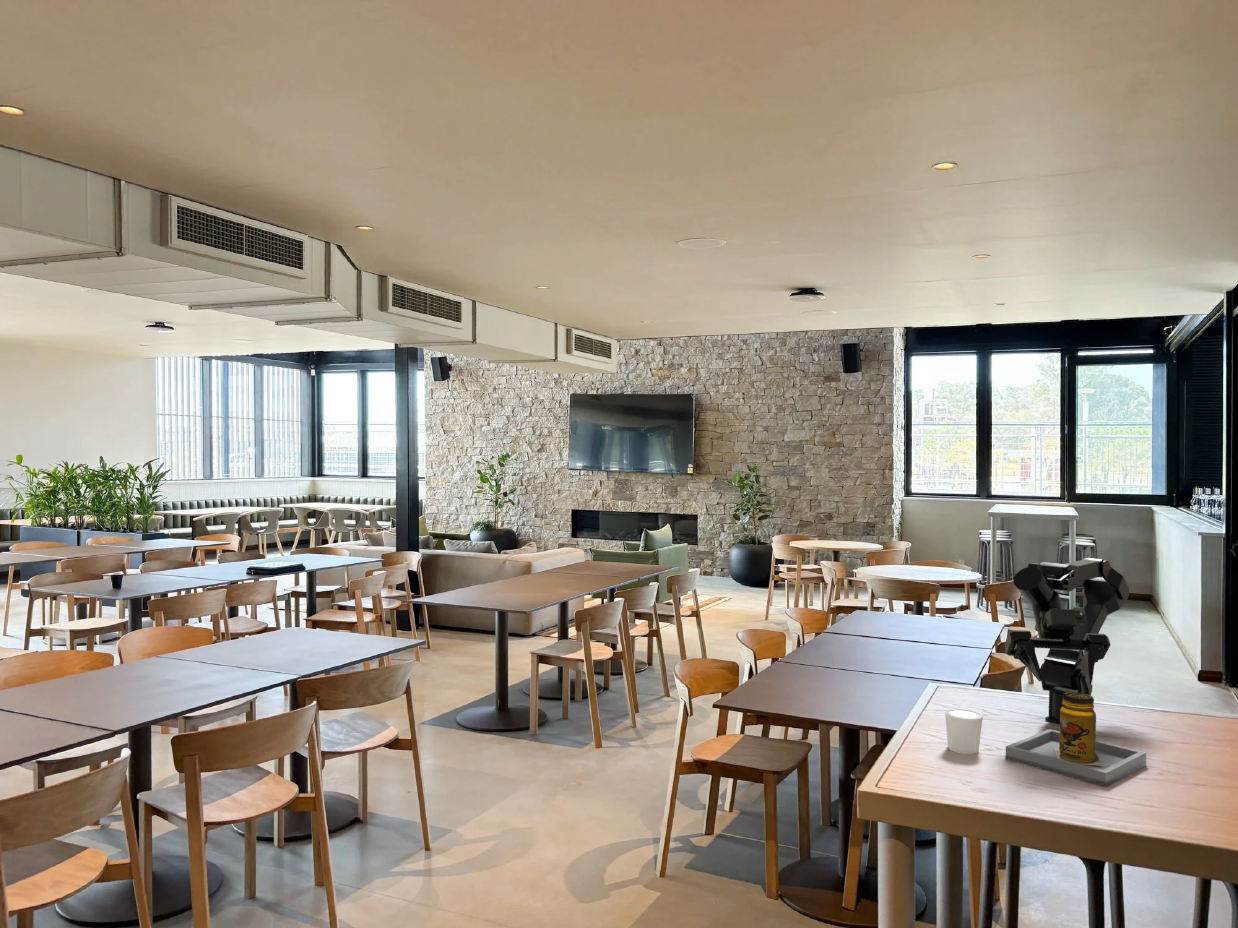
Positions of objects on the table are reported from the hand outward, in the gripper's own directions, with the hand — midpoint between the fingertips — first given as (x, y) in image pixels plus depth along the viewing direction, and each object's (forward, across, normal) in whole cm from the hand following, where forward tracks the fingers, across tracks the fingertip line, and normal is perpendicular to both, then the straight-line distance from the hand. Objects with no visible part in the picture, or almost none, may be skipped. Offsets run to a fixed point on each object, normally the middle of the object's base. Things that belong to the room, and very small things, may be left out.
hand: (1065, 681), depth 177 cm
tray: (+15, 0, +4) cm, 15 cm away
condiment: (+14, 0, +4) cm, 15 cm away
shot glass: (+12, -20, +7) cm, 24 cm away
